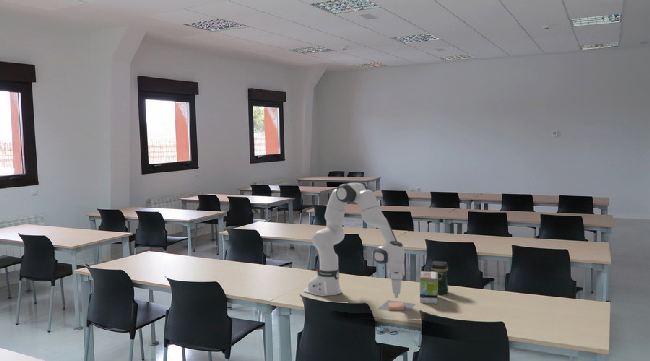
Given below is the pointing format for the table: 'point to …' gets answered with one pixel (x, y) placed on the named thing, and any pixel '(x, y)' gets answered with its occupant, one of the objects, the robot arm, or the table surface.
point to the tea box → (428, 287)
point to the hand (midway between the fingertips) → (396, 297)
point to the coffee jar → (441, 275)
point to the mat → (406, 308)
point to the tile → (396, 306)
